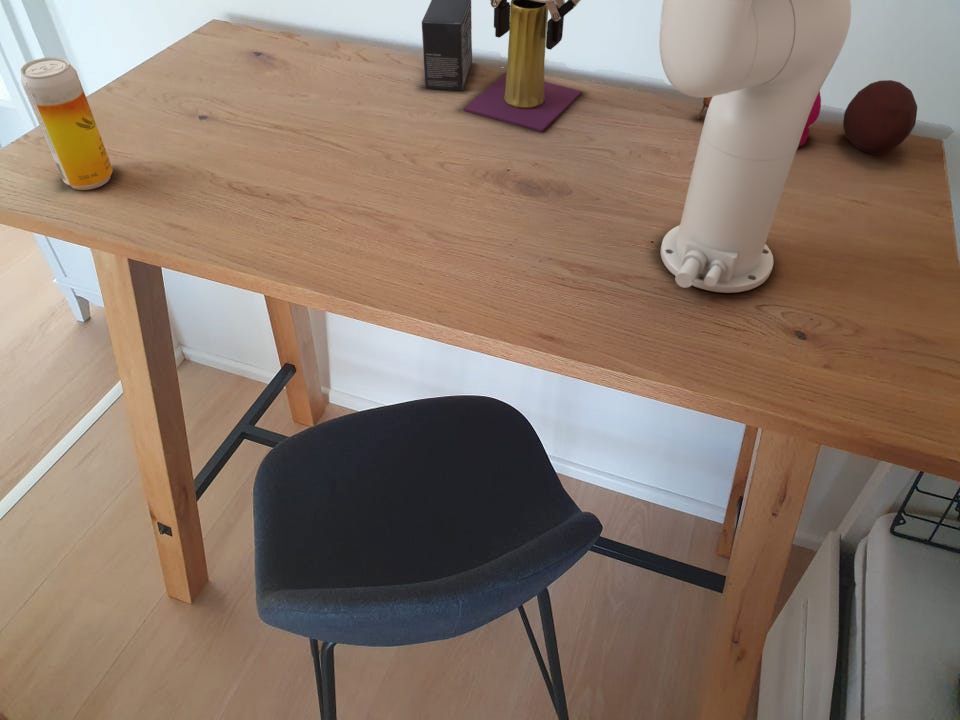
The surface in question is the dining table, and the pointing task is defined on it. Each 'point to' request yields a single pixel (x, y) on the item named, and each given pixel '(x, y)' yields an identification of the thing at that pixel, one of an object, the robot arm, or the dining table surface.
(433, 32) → the small box
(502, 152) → the dining table surface
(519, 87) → the vase
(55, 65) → the beer can
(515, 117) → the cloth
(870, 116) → the dark brown egg
